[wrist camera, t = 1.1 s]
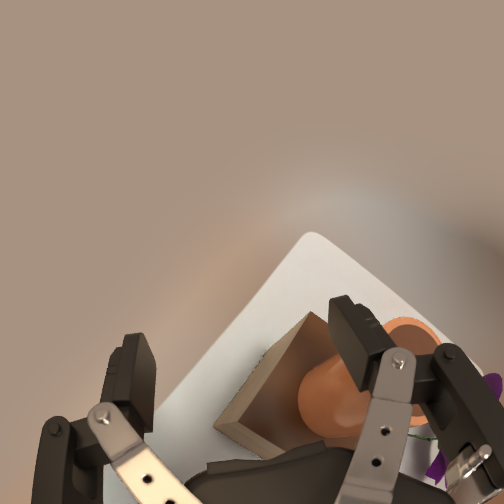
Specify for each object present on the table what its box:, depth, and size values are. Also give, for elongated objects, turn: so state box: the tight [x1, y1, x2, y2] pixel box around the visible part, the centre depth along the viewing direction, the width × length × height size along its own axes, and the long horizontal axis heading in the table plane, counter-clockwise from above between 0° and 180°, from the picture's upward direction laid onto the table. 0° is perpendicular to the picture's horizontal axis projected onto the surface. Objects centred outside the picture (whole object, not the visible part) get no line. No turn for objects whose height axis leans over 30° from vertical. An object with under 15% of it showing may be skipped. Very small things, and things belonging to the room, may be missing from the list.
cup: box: [298, 317, 442, 439], centre depth 17 cm, size 6×6×9 cm
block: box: [213, 311, 358, 460], centre depth 25 cm, size 11×11×11 cm
